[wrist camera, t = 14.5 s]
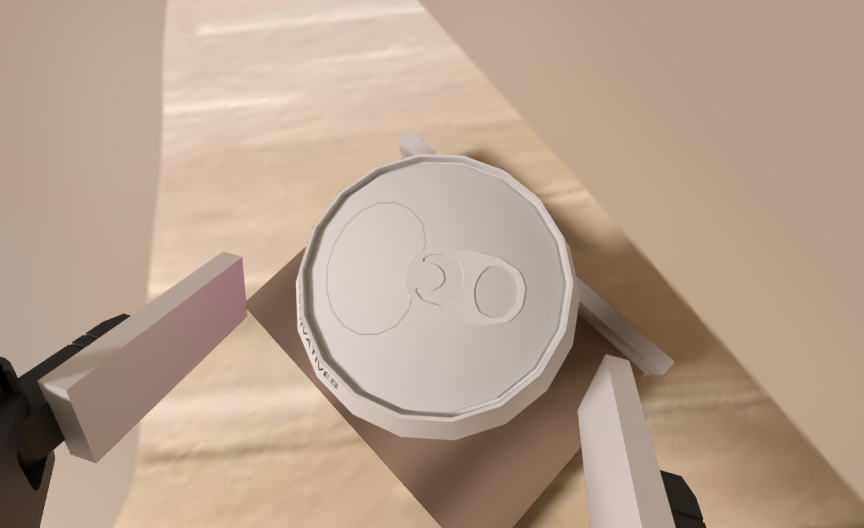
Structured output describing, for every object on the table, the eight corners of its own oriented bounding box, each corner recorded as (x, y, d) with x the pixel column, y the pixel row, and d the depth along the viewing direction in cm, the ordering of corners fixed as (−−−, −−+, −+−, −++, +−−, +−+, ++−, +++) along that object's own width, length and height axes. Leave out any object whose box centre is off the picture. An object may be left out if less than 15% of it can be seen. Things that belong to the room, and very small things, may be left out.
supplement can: (358, 385, 25) (230, 403, 10) (394, 253, 26) (328, 109, 12) (495, 419, 24) (569, 492, 9) (521, 281, 26) (615, 163, 11)
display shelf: (638, 360, 27) (678, 357, 22) (476, 547, 25) (483, 589, 20) (418, 164, 31) (412, 126, 27) (261, 309, 29) (225, 296, 24)
